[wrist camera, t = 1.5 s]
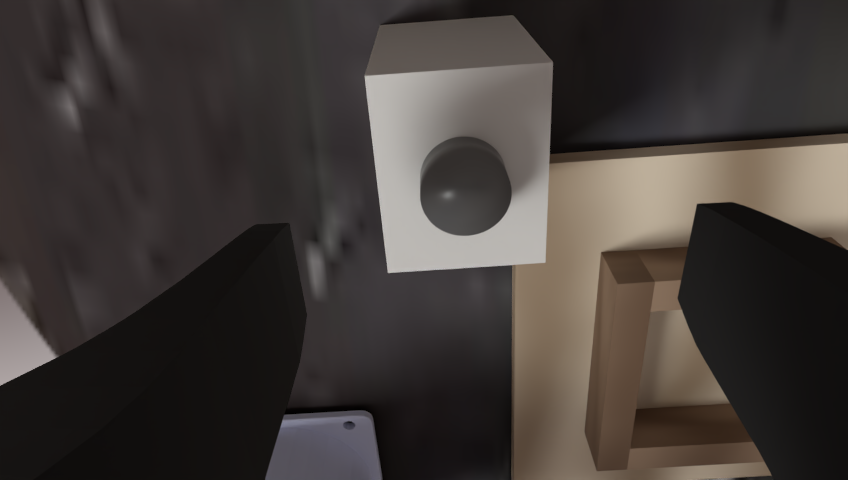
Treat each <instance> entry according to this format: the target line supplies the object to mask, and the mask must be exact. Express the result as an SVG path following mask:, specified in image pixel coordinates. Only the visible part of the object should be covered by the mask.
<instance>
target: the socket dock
mask: <svg viewBox="0 0 848 480" xmlns="http://www.w3.org/2000/svg"><path fill="white" fill-rule="evenodd" d="M722 202H734V203H737V204H741V205H744V206H747V207H750V208H752V209H755V210H757V211H760V212H762V213H765V214H767V215H769V216H772V217H774V218H777V219H779V220H781V221H783V222H786V223H788V224H790V225H792V226H795V227H797V228H799V229H801V230H804V231H806V232H808V233H810V234H813V235H815V236H817V237H819V238H821V239H824V240H826V241H828V242H830V243H833V244H835V245H837V246H840V247H842V248H844V249H846V250H848V133H847V134H832V135H818V136H803V137H789V138H775V139H760V140H746V141H731V142H717V143H703V144H688V145H674V146H659V147H645V148H631V149H616V150H602V151H587V152H573V153H559V154H550V158H549V184H548V210H547V236H546V262H545V263H535V264H519V265H512V433H511V476H512V480H699V479H717V478H736V477H754V476H772V475H771V473H770V471H769V469H768V467H767V466H766V464H765V462H764V460H763V458H762V456H761V454H760V453H759V451H758V449H757V447H756V446H755V444H754V442H753V441H752V439H751V437H750V436H749V434H748V432H747V431H746V429H745V427H744V426H743V424H742V422H741V421H740V419H739V417H738V416H737V414H736V412H735V411H734V409H733V407H732V406H731V404H730V402H729V401H728V399H727V397H726V396H725V394H724V392H723V391H722V389H721V387H720V386H719V384H718V382H717V380H716V379H715V377H714V375H713V374H712V372H711V370H710V368H709V367H708V365H707V363H706V362H705V360H704V358H703V356H702V355H701V353H700V351H699V349H698V348H697V346H696V344H695V341H694V339H693V337H692V334H691V332H690V330H689V327H688V325H687V322H686V320H685V317H684V314H683V312H682V309H681V306H680V304H679V301H678V299H677V298H678V293H679V288H680V284H681V279H682V274H683V269H684V264H685V259H686V255H687V250H688V245H689V240H690V235H691V230H692V226H693V221H694V216H695V211H696V206H697V204H701V203H722Z"/></svg>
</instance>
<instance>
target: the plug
mask: <svg viewBox="0 0 848 480" xmlns="http://www.w3.org/2000/svg"><path fill="white" fill-rule="evenodd" d="M552 79H553V62H552V60H551V59H550V58H549V57H548V56H547V54H546V53H545V52H544V51H543V50H542V49H541V47H540V46H539V45H538V44H537V43H536V41H535V40H534V39H533V38H532V37H531V36H530V34H529V33H528V32H527V31H526V30H525V28H524V27H523V26H522V25H521V24H520V22H519V21H518V20H517V19H516V18H515V17H514V15H509V16H495V17H482V18H469V19H455V20H442V21H429V22H415V23H402V24H389V25H380V27H379V30H378V33H377V37H376V40H375V43H374V47H373V50H372V53H371V56H370V60H369V63H368V66H367V70H366V73H365V83H366V92H367V100H368V109H369V117H370V125H371V134H372V142H373V151H374V159H375V168H376V176H377V184H378V193H379V201H380V210H381V218H382V227H383V235H384V243H385V252H386V260H387V269H388V273H394V272H410V271H425V270H441V269H456V268H472V267H488V266H503V265H519V264H535V263H545V262H546V236H547V210H548V184H549V158H550V132H551V105H552Z"/></svg>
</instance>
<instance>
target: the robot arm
mask: <svg viewBox="0 0 848 480" xmlns="http://www.w3.org/2000/svg"><path fill="white" fill-rule="evenodd" d="M677 299H678V301H679V304H680V306H681V309H682V312H683V314H684V317H685V320H686V322H687V325H688V327H689V330H690V332H691V334H692V337H693V339H694V341H695V344H696V346H697V348H698V349H699V351H700V353H701V355H702V356H703V358H704V360H705V362H706V363H707V365H708V367H709V368H710V370H711V372H712V374H713V375H714V377H715V379H716V380H717V382H718V384H719V386H720V387H721V389H722V391H723V392H724V394H725V396H726V397H727V399H728V401H729V402H730V404H731V406H732V407H733V409H734V411H735V412H736V414H737V416H738V417H739V419H740V421H741V422H742V424H743V426H744V427H745V429H746V431H747V432H748V434H749V436H750V437H751V439H752V441H753V442H754V444H755V446H756V447H757V449H758V451H759V453H760V454H761V456H762V458H763V460H764V462H765V464H766V466H767V467H768V469H769V471H770V473H771V475H772V477H773V479H774V480H848V250H846V249H844V248H842V247H840V246H837V245H835V244H833V243H830V242H828V241H826V240H824V239H821V238H819V237H817V236H815V235H813V234H810V233H808V232H806V231H804V230H801V229H799V228H797V227H795V226H792V225H790V224H788V223H786V222H783V221H781V220H779V219H777V218H774V217H772V216H769V215H767V214H765V213H762V212H760V211H757V210H755V209H752V208H750V207H747V206H744V205H741V204H737V203H734V202H722V203H701V204H697V206H696V211H695V216H694V221H693V226H692V230H691V235H690V240H689V245H688V250H687V255H686V259H685V264H684V269H683V274H682V279H681V284H680V288H679V293H678V298H677ZM306 317H307V313H306V307H305V302H304V297H303V292H302V287H301V282H300V276H299V271H298V266H297V261H296V256H295V251H294V245H293V240H292V235H291V230H290V225H289V223H278V224H257V225H254V226H252V227H251V228H249V229H248V230H246V231H245V232H243V233H242V234H241V235H239V236H238V237H237V238H235V239H234V240H233V241H231V242H230V243H229V244H227V245H226V246H225V247H224V248H222V249H221V250H220V251H218V252H217V253H216V254H215V255H213V256H212V257H211V258H209V259H208V260H207V261H206V262H204V263H203V264H202V265H200V266H199V267H198V268H196V269H195V270H194V271H192V272H191V273H190V274H189V275H187V276H186V277H185V278H183V279H182V280H181V281H179V282H178V283H176V284H175V285H173V286H172V287H171V288H169V289H168V290H166V291H165V292H163V293H162V294H161V295H159V296H158V297H156V298H155V299H153V300H152V301H151V302H149V303H148V304H146V305H145V306H143V307H142V308H141V309H139V310H138V311H136V312H135V313H133V314H132V315H130V316H129V317H127V318H125V319H124V320H122V321H121V322H119V323H117V324H116V325H114V326H113V327H111V328H109V329H108V330H106V331H104V332H103V333H101V334H99V335H97V336H96V337H94V338H92V339H90V340H89V341H87V342H85V343H83V344H82V345H80V346H78V347H76V348H75V349H73V350H71V351H69V352H67V353H65V354H63V355H62V356H59V357H57V358H55V359H53V360H51V361H50V362H47V363H45V364H43V365H42V366H39V367H37V368H35V369H33V370H31V371H29V372H27V373H25V374H23V375H21V376H19V377H17V378H15V379H13V380H11V381H9V382H7V383H5V384H3V385H1V386H0V480H383V478H382V471H381V465H380V459H379V452H378V446H377V440H376V433H375V427H374V421H373V417H372V415H371V414H370V413H369V412H367V411H364V410H356V411H339V412H322V413H305V414H288V415H284V414H285V411H286V407H287V404H288V401H289V397H290V394H291V390H292V387H293V384H294V380H295V377H296V373H297V370H298V366H299V363H300V357H301V351H302V345H303V339H304V332H305V324H306ZM347 421H352V423H348V422H347Z"/></svg>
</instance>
